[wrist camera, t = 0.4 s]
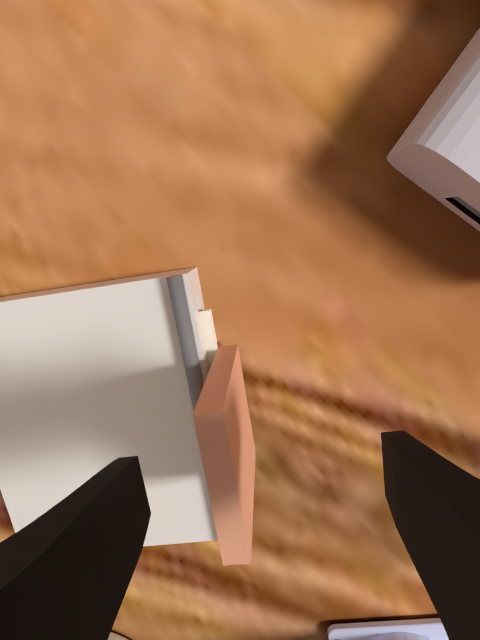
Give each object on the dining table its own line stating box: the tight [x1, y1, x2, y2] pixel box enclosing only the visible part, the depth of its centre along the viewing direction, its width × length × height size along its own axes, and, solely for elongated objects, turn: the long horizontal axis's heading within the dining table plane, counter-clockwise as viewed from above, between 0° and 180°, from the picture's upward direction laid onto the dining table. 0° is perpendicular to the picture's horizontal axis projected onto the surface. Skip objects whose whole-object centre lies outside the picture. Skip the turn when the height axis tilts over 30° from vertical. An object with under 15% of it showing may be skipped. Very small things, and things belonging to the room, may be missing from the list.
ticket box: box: [0, 267, 218, 546], centre depth 20 cm, size 12×14×3 cm
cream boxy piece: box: [193, 309, 256, 566], centre depth 17 cm, size 12×10×7 cm
